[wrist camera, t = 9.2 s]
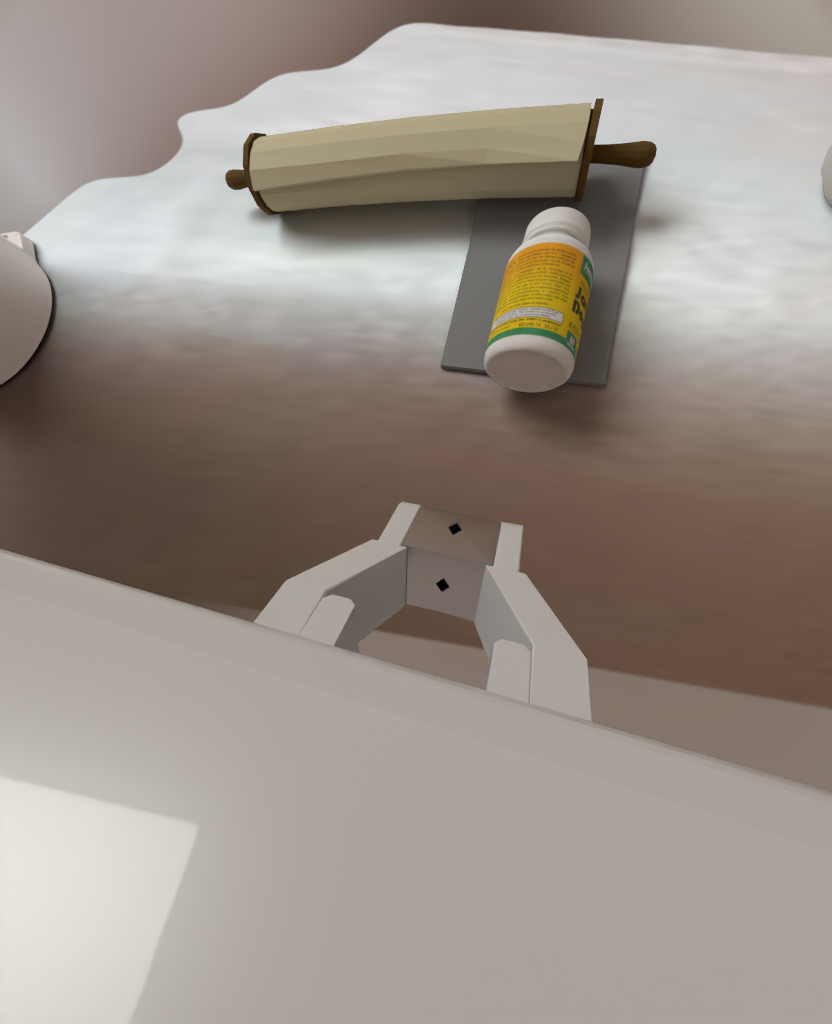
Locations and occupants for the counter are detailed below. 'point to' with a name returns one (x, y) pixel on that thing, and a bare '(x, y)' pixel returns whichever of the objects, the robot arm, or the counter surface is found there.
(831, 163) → the supplement can
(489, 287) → the mat
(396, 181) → the rolling pin
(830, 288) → the counter surface
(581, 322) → the supplement bottle
